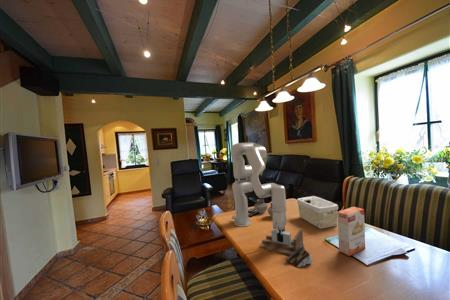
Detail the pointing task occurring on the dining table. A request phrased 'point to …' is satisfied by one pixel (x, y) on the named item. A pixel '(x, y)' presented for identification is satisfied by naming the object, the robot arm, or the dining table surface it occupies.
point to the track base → (283, 248)
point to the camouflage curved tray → (300, 257)
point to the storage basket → (318, 211)
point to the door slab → (285, 237)
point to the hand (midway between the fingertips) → (281, 239)
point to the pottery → (263, 207)
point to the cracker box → (351, 230)
